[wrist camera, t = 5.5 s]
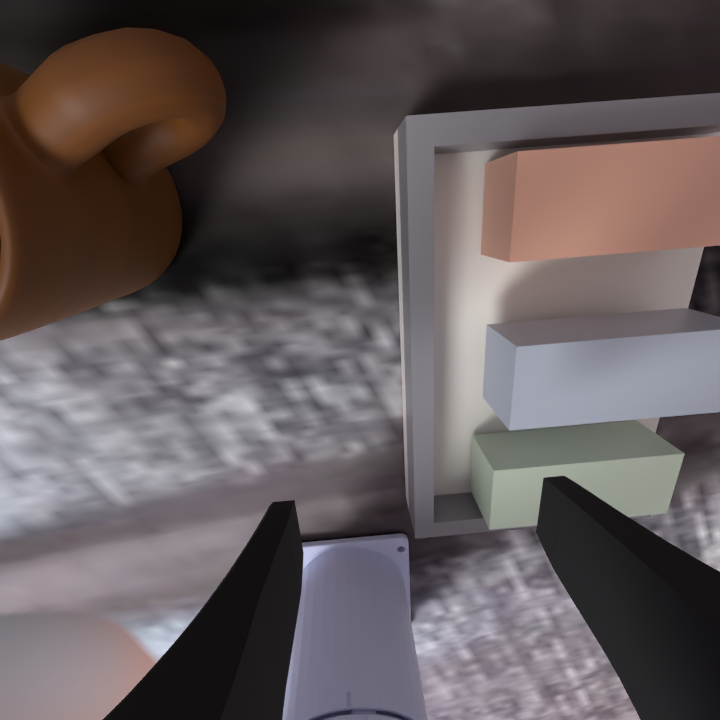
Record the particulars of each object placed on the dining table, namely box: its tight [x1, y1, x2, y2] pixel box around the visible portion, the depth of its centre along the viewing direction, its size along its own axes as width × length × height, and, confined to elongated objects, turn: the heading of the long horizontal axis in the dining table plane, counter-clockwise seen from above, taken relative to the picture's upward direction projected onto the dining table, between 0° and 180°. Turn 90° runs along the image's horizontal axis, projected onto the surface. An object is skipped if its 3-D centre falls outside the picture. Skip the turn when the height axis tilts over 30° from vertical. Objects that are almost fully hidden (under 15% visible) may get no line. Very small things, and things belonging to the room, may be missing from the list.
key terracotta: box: [481, 136, 720, 262], centre depth 14 cm, size 4×9×3 cm, turn 94°
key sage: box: [470, 420, 685, 530], centre depth 19 cm, size 4×9×3 cm, turn 94°
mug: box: [0, 27, 227, 340], centre depth 12 cm, size 12×8×9 cm, turn 111°
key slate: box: [483, 308, 720, 431], centre depth 16 cm, size 4×9×3 cm, turn 94°
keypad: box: [394, 93, 720, 539], centre depth 18 cm, size 20×14×3 cm
